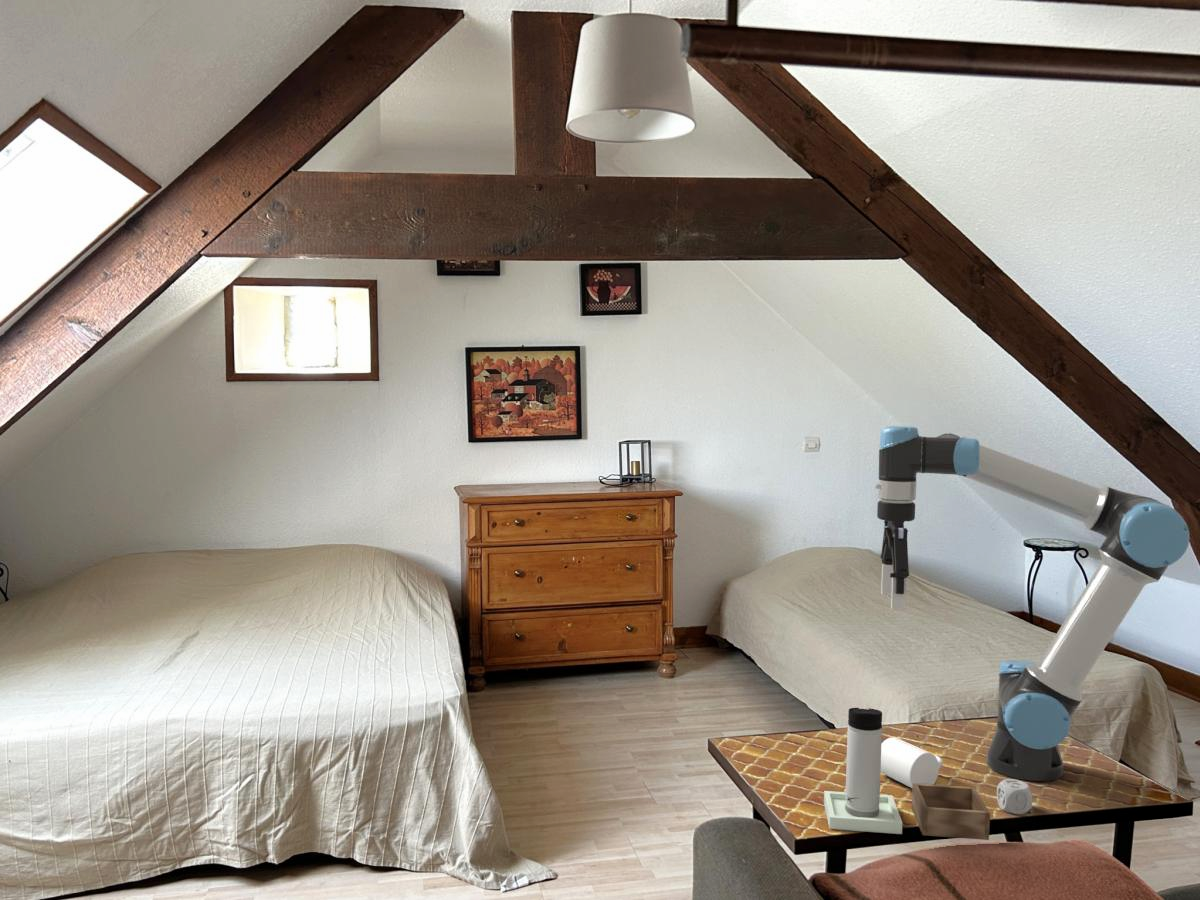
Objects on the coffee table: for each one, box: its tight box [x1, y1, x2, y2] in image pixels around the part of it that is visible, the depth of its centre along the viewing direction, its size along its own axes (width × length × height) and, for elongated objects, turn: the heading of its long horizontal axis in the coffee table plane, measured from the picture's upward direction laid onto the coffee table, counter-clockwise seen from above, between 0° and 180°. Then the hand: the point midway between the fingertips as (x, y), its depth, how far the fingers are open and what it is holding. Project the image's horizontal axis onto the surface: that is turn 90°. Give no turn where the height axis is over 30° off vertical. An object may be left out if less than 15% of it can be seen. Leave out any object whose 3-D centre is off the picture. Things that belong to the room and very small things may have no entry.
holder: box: [911, 783, 991, 841], centre depth 187 cm, size 12×12×5 cm
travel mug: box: [845, 707, 883, 818], centre depth 189 cm, size 6×7×20 cm
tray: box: [823, 790, 903, 835], centre depth 189 cm, size 13×12×2 cm
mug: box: [880, 736, 944, 789], centre depth 207 cm, size 12×10×8 cm
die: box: [996, 778, 1033, 815], centre depth 194 cm, size 5×5×5 cm
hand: (892, 602), depth 208 cm, fingers open, 13 cm apart
